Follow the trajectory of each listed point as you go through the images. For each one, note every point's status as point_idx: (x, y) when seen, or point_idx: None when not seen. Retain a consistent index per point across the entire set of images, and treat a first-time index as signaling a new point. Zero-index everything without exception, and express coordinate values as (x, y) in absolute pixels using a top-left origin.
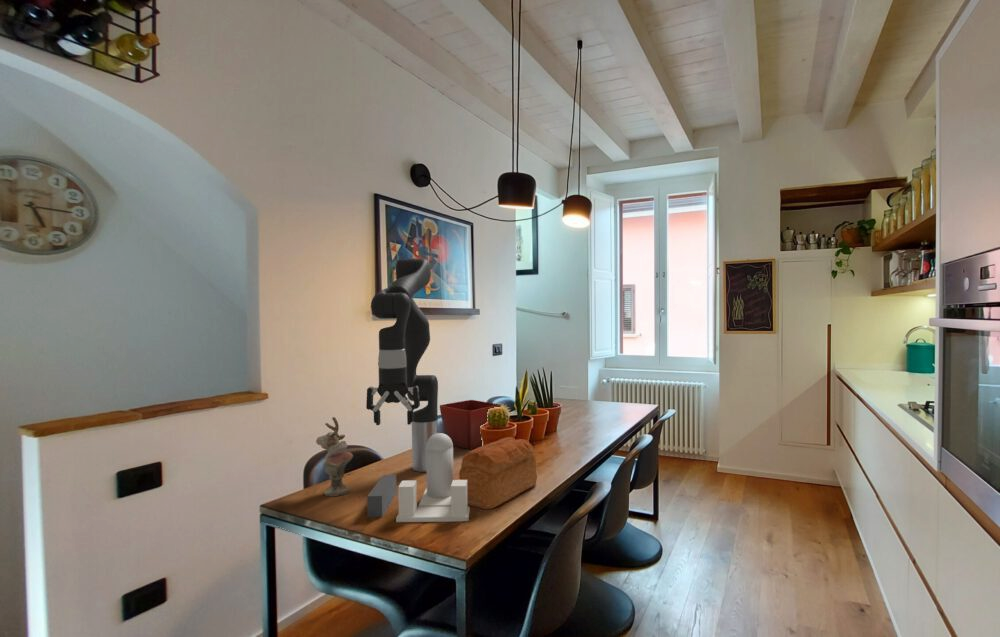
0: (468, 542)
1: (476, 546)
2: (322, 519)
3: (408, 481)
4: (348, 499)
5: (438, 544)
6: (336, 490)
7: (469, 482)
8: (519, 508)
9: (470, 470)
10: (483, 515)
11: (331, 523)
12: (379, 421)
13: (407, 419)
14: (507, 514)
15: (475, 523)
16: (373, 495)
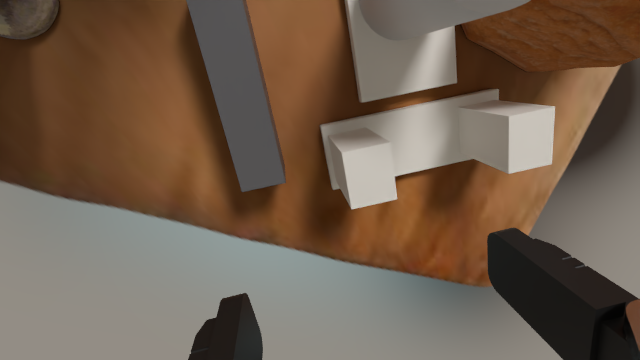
0: None
1: None
2: (139, 205)
3: (366, 157)
4: (108, 57)
5: (447, 258)
6: (22, 21)
7: (534, 35)
8: None
9: (572, 22)
10: None
11: (179, 221)
12: (251, 335)
13: (521, 315)
14: (579, 95)
15: None
16: (258, 183)
